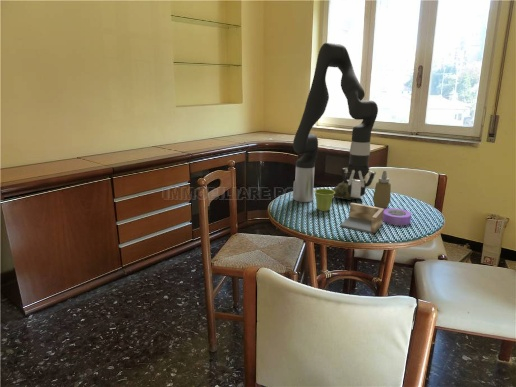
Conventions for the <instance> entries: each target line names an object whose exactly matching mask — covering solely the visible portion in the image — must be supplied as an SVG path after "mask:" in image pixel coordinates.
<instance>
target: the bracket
mask: <svg viewBox="0 0 516 387" xmlns="http://www.w3.org/2000/svg"><path fill="white" fill-rule="evenodd" d="M361 187H362V186H361V182H360V179H356V178H355V179H354V180H353V181H352V188H351V197H356V198H357V199H361V198H362V197H364V196H365V195H366V193H367V191H366V190H365V194H364V195H363V196H360V192H361Z"/></svg>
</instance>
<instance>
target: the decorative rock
mask: <svg viewBox="0 0 516 387" xmlns="http://www.w3.org/2000/svg"><path fill="white" fill-rule="evenodd" d="M331 190H333V191H335V194H334V196H333V198H336V199H343V200H348V201H353V200H357V199H358V198H356V197H351V194H349V193H348V184H347V183H344V181H343V180H342V182H340V183H337V185H336V186H335V187H333V188H332V189H331Z"/></svg>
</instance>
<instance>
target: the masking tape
mask: <svg viewBox="0 0 516 387" xmlns="http://www.w3.org/2000/svg"><path fill="white" fill-rule="evenodd" d="M411 218H412V213H411V212H410V211H408V210H406V209H402V208H396V207H391V208H390V207H387V208H386V209H384V214H383V222H385V223H387V224H390V225H394V226H407V224H408V225H410V224H411V220H412V219H411Z"/></svg>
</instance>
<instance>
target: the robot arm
mask: <svg viewBox="0 0 516 387" xmlns="http://www.w3.org/2000/svg"><path fill="white" fill-rule="evenodd" d="M329 68H337V69H338V70H339V71H340V73H341V78H340V87H341V90H342V92H343V94H344V96H345V99H346V102H347V107H348V113H349V115H350V117H351V118H352V119H354V120H356V121H358V120H361V123H360V124H359V125H355V126H353V128H352V131H351V132H352V133H351V143H350V149H349V160H348V166H347V167H343V168H341V169H340V172H341V176H342V179H343V180H342V182H343V181H344V183H347V184H348V193H349V194H351V188H352V181H353V180H354V179H355V180H356V179H357V180H360V182H361V186H362V187H361V192H360V196H362V197H364V196H365V195H366V193H365V191H366V188H367V187H369V186H371V185H372V183H373V181H374V178H375V176H376V175H377V172H376V171H372V170H370V167H369V164H370V154H371V138H372V130H373V127H374V125H375V122H376V120H377V117H378V114H379V108H378V104H377V103H376V101H374V100H364V98H365V90H364V88H363V86H362V85H361V83H360V81H359V79H358V78H357V75H356V73H355V70H354V67H353V64H352V60H351V57H350V54H349V52H348V49H347V47H346V46H345V45H343V44H341V43H333V42H325V43H323V44H322V45H321V46H320V48H319V51H318V55H317V59H316V63H315V68H314V74H313V78H312V82H311V86H310V89H309V93H308V96H307V99H306V101H305V107H304V110H303V113H302V115H301V119H300V122H299V125H298V127H297V130H296V132H295V135H294V138H293V141H292V142H293V144H292V146H293V150H294V152H295V153H297V154H303V155H302V156H300V158H297V160H296V161H295V175H294V176H295V180H294V181H293V183H292V184H293V186H292V189H293V190H292V200H295V202H300V203H309V202H312V201H313V200H314V199H313V198H314V187H315V186H314V184H315V183H314V182H315V169H316V168H315V166H316V165H315V164H316V162H317V158H318V148H319V140H318V137H317V135H316V134H315V133H311V130H312V129H313V128H314V125H316V124H317V123H318V121H319V120H320V119H321V118H322V116H323V115H324V113H325V112H326V109H327V106H328V103H329V99H330V95H329V89H328V85H327V82H326V76H327V71H328V69H329ZM348 173H349V175H350V176H348ZM367 175H368V180H367V179H366V176H367ZM364 194H365V195H364ZM363 195H364V196H363Z"/></svg>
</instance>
